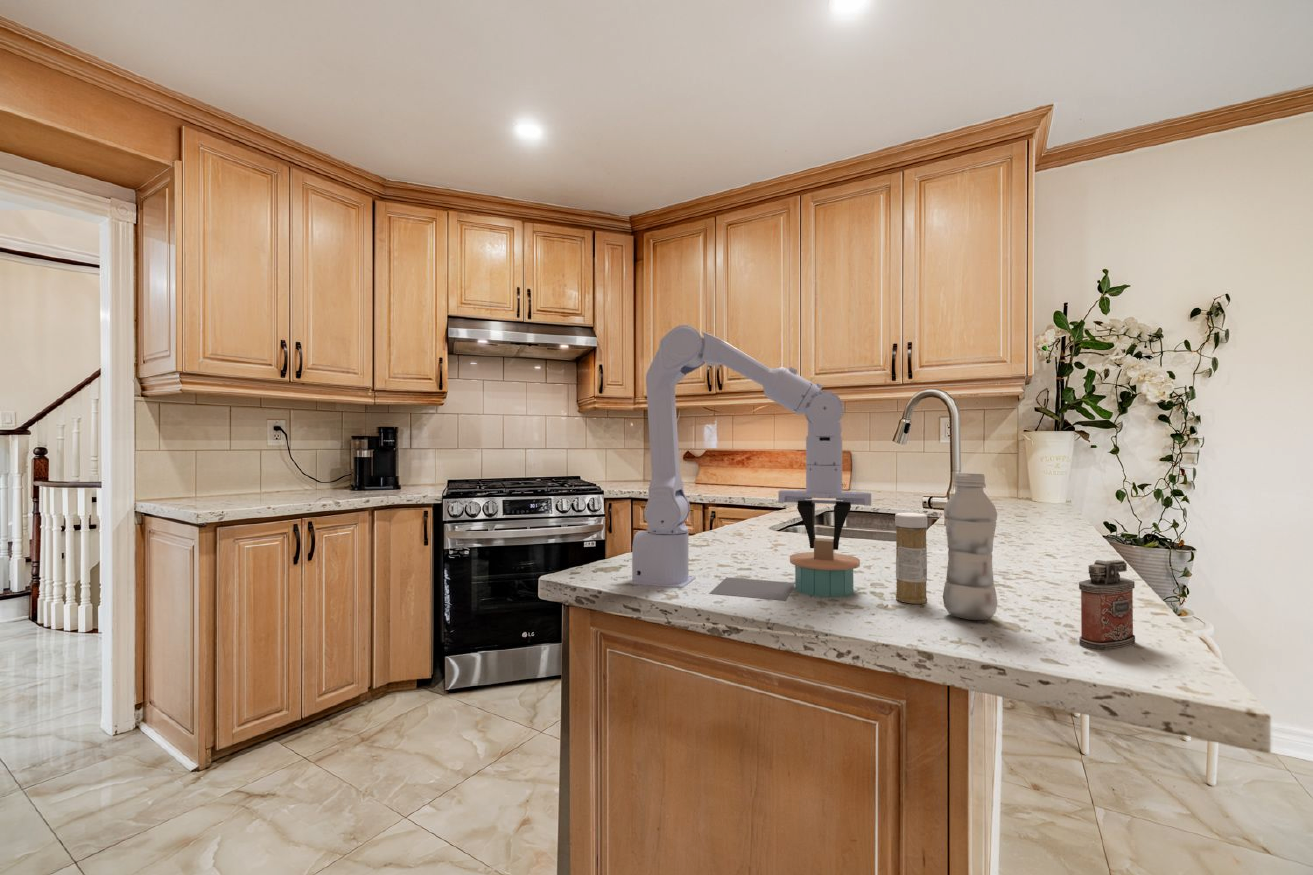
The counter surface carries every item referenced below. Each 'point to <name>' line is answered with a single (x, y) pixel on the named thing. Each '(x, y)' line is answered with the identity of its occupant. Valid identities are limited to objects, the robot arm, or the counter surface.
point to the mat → (754, 588)
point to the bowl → (824, 582)
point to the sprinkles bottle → (911, 557)
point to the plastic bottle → (970, 550)
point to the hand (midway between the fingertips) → (824, 548)
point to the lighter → (1107, 607)
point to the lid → (824, 557)
